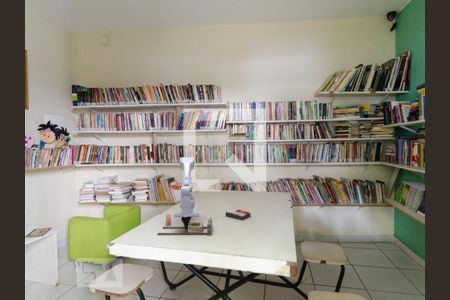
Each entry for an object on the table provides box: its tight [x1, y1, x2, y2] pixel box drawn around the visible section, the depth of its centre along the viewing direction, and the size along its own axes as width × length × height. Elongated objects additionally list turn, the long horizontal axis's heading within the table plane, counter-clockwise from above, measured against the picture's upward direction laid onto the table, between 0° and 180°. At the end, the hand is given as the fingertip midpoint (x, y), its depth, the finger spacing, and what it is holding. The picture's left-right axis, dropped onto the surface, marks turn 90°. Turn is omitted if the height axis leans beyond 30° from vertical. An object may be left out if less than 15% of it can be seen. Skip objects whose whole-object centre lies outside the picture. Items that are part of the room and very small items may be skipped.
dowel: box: [165, 213, 172, 227], centre depth 131 cm, size 3×3×8 cm
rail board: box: [157, 217, 213, 237], centre depth 121 cm, size 12×30×7 cm, turn 90°
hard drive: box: [225, 208, 251, 221], centre depth 152 cm, size 11×4×15 cm
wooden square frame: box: [187, 221, 204, 233], centre depth 121 cm, size 8×8×4 cm
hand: (186, 229), depth 121 cm, fingers closed
